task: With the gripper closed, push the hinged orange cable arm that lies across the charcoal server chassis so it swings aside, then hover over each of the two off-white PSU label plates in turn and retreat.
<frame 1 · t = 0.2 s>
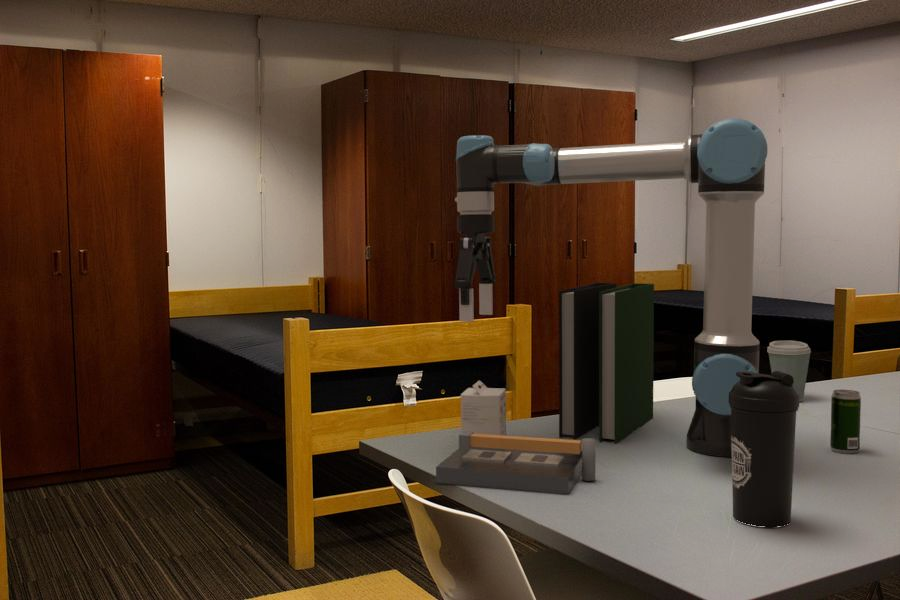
hand: (476, 318, 177), 27 cm above the table, fingers open, 13 cm apart
ink box: (484, 446, 182), on the table
beer can: (844, 451, 174), on the table
books: (605, 428, 197), on the table
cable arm: (526, 454, 159), point 4 cm above the table, hinge at 0.0°
chassis: (513, 474, 160), on the table
water bottle: (761, 520, 135), on the table
disposable coffee cup: (787, 401, 224), on the table
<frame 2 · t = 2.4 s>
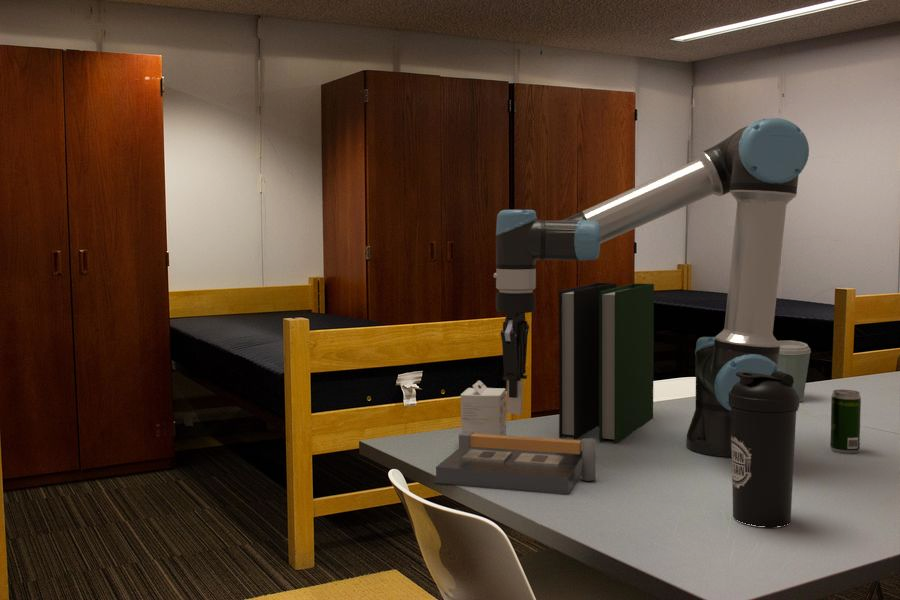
hand: (514, 413, 166), 10 cm above the table, fingers closed
nothing on the table moved.
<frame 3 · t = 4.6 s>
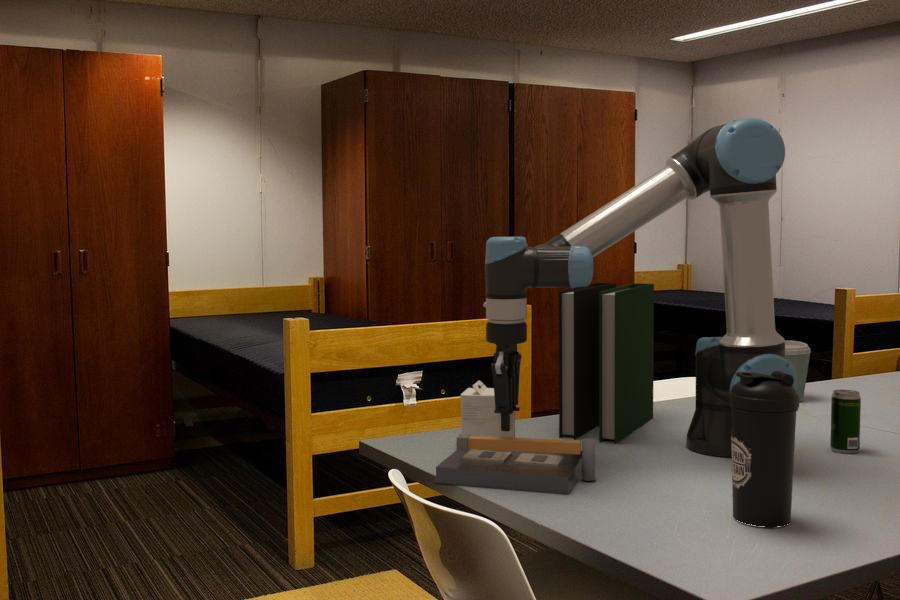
hand: (507, 446, 161), 5 cm above the table, fingers closed
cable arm: (525, 456, 158), point 4 cm above the table, hinge at 4.9°, touching gripper
everything else where it was.
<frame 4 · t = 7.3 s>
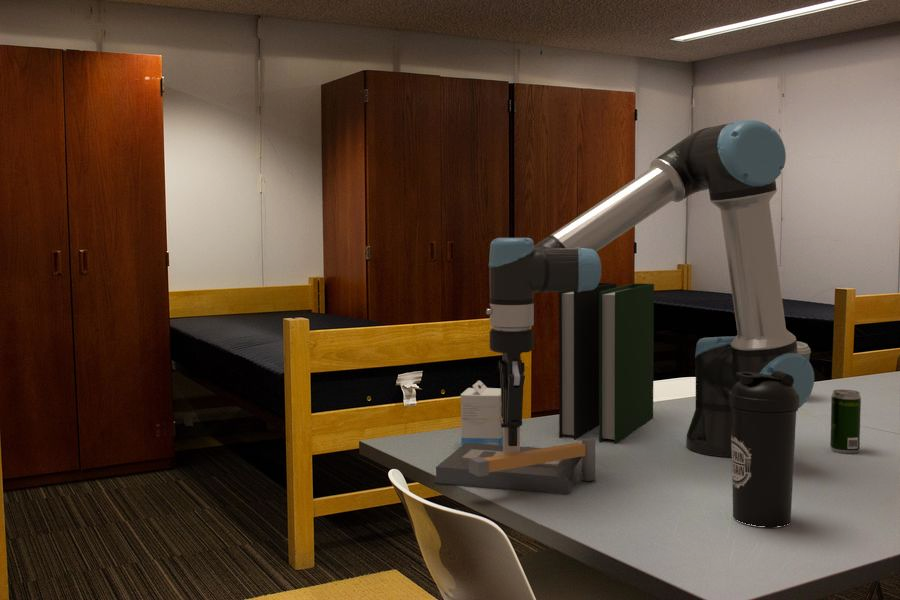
hand: (511, 462, 150), 5 cm above the table, fingers closed
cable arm: (536, 468, 150), point 4 cm above the table, hinge at 47.1°, touching gripper
everything else where it was.
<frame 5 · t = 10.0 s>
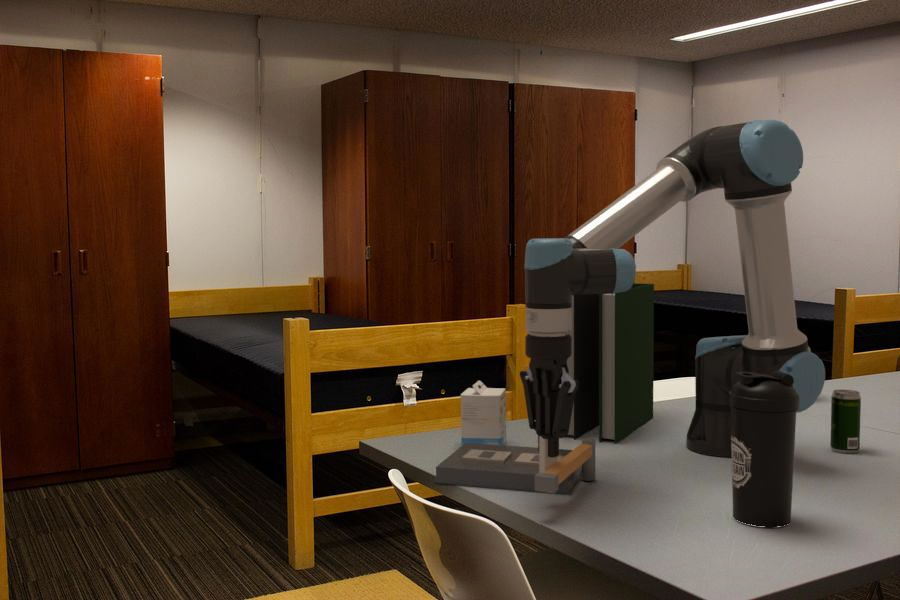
hand: (548, 474, 143), 5 cm above the table, fingers closed
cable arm: (569, 476, 145), point 4 cm above the table, hinge at 82.8°, touching gripper
everything else where it was.
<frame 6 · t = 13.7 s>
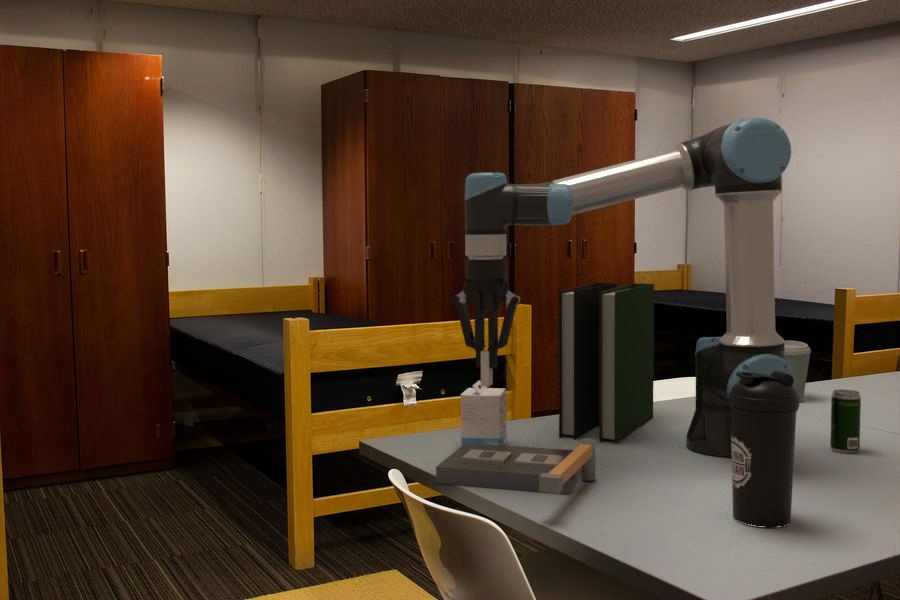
hand: (486, 385, 160), 17 cm above the table, fingers closed
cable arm: (571, 476, 145), point 4 cm above the table, hinge at 84.6°
everything else where it was.
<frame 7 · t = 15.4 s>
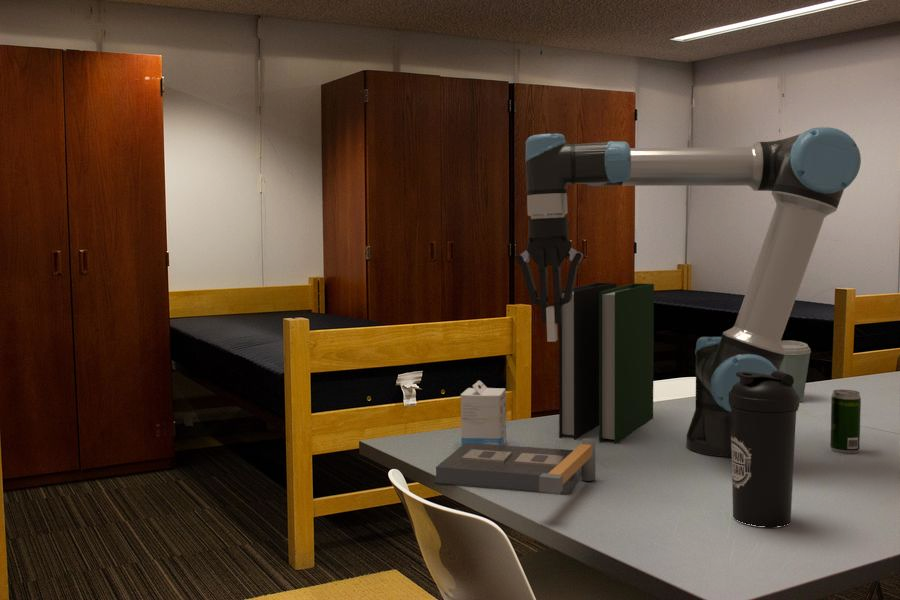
hand: (552, 340, 166), 24 cm above the table, fingers closed
nothing on the table moved.
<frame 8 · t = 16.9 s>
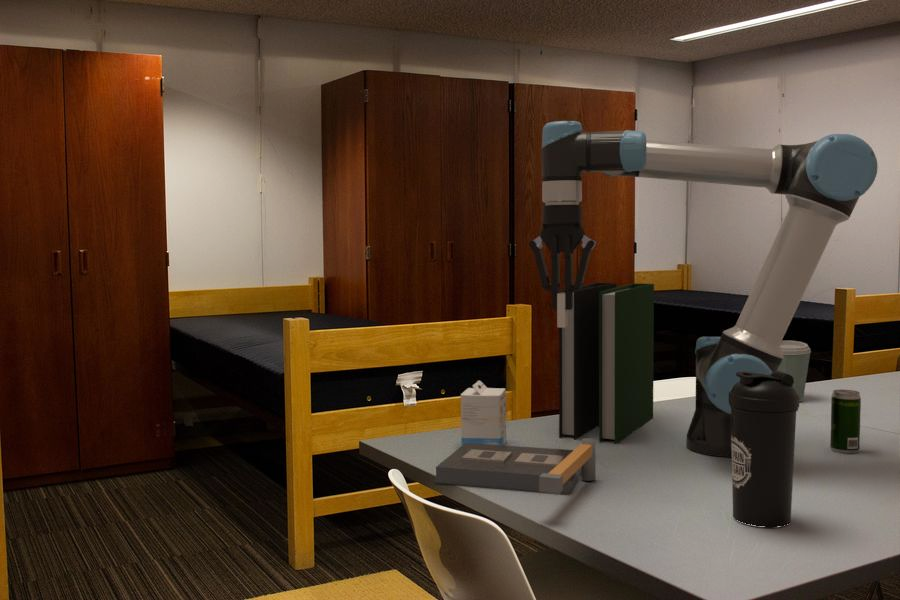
hand: (562, 326, 167), 26 cm above the table, fingers closed
nothing on the table moved.
at the end: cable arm at +85° (first picture: +0°) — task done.
